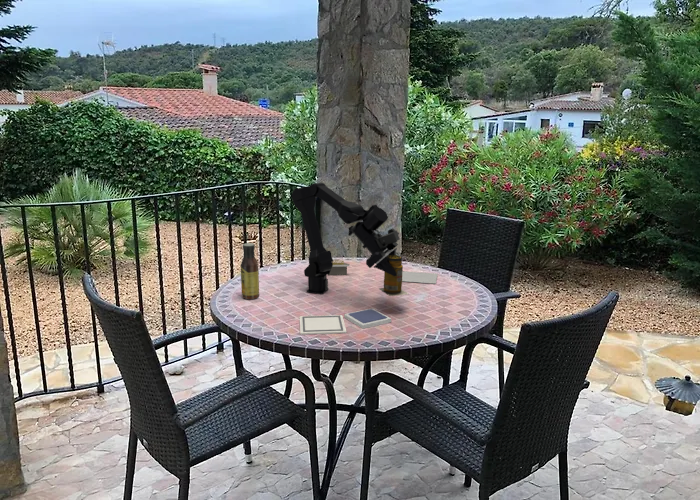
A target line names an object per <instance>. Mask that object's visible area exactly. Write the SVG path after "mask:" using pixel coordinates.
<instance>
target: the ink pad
mask: <svg viewBox="0 0 700 500" xmlns="http://www.w3.org/2000/svg"><path fill="white" fill-rule="evenodd" d="M343 319H345V320H348V321H349V322H350V323H352V324H353V325H354V324H355V326H357V327H359V328H360V329H363V330H364V329H368V328H372V327H376V326H380V325H384V324H389V323H392V318H391V317H389V316H387V315H386V314H384V313H382V312H380V311H378V310H377V309H375V308H368V309H367V308H366V309H362V310H358V311H353V312H352V311H351V312H348V313H344V316H343Z"/></svg>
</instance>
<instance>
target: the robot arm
mask: <svg viewBox="0 0 700 500" xmlns="http://www.w3.org/2000/svg"><path fill="white" fill-rule="evenodd" d="M317 198H319V199H320V200H321V201H323V202H324V203H325V204H327V205H328V206H330V208H332V209H334V210H335V211H336V212H337V214H338V215H337V216H338V217H339V218H340V219H341V221H343V223H345V224H348V225H350V224H354V225H350V226H349V227H348V234H347V235H348V236H352V235H353V234H354V236H356V238H357V239H358V240H359V241H360V242H361V244H362V246H361V247H362V248H363V249H367V251H368V252H369V253H370V254H371V255H370V256H369V257H368V258H367V259H366V260H365V264H366V266H367V267H368V269H371V268H372V267H373V268H374V269H378V270H381V271H382V272H387V273H389V274H391V275H393V276H396V275H397V273H396V271H395V270H394V268H393V267H392V265H391V264H390V262H389V255H397V250H398V248H397V247H398V245H399V243H398V241H399V240H400V237H399V234H400V233H399V231H398V230H396V229H394V228H390V229H388V230H387V233H386V234H383V235H382V234H381V233H379V232H378V233H377V232H376V231H377V230H378V229H379V228H380V227H381V226H382V225H383V224H385V223H386V222H387V221H388V214H387V212H386V210H384V209H383V208H381V207H379V206H378V204H373V205H371V206H370V207H369V208H368V210H366V209H365V208H364V207H363V205H360V204H359V203H355V202H352V201H349V200H347V199H345V198H343V197H342V196H340V195H339V194H338V193H336V192H335V191H334V190H333V189H331V188H329V187H328V186H327V185H326V183H323V182H316V183H314V182H313V183H311V184H309V185H308V186H304V187H297V188H294V189H293V190H292V193H291V199H292V201H293V205H294V208H296V209H297V211H298V212H300V215H301V218H302V222H303V223H302V224H303V226H304V230H305V234H306V239H307V242H308V246H309V250H310V251H309V256H308V265H307V266H306V267H305V268H304V270H303V273H304V277H307V279H308V280H307V288H308V289H306V292H307V293H311V294H319V295H323V294H325V293H326V292H327V291H328V290H329V279H328V278H327V276H328V274H330V271H331V268H332V266H333V263H334V259H333V257H332V252H331V250H327V249H326V248H325V247H324V243H323V239H322V237H321V236H322V235H321V231H320V228H319V224H318V219H317V216H316V212H315V207H316V203H317ZM355 223H356V224H355ZM332 261H333V262H332Z"/></svg>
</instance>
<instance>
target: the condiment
mask: <svg viewBox="0 0 700 500" xmlns="http://www.w3.org/2000/svg"><path fill="white" fill-rule="evenodd" d="M402 260H403V258H402V256H400V255H397V254H396V255H389V262H390V264H391V265H392V267H393V268H394V270H395V271H396V273H397V275H396V276H393V275H391V274H389V273H387V272H384V271H383V272H384V275H383V287H380V288H378V289H379V291H381V292H382V293H384V294H386V295H388V296H389V297H395V296H396V297H398V296H405V295H409V293H408V292H407V291H405V290H403V289H402V288H403V281H402V272H403V269H404V267H403V261H402Z"/></svg>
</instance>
